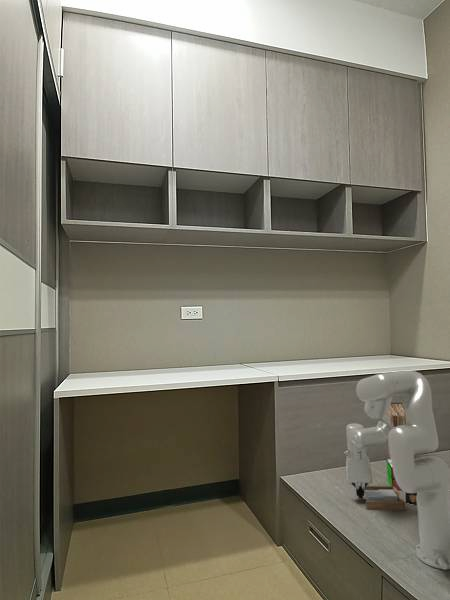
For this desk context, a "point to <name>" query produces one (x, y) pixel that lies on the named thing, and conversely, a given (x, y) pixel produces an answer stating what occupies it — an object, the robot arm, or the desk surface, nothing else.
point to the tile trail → (373, 495)
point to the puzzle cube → (391, 474)
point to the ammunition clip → (411, 496)
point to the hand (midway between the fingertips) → (360, 497)
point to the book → (396, 418)
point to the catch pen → (385, 504)
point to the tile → (388, 495)
